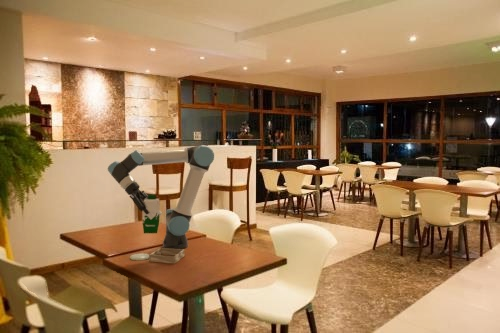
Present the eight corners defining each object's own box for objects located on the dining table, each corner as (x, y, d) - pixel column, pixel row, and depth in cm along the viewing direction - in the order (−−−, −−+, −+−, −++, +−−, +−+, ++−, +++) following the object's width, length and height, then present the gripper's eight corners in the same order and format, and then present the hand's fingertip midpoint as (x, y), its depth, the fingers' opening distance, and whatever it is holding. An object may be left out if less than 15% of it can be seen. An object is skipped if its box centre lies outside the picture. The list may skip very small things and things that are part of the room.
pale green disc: (135, 253, 219) (135, 252, 219) (153, 255, 217) (153, 254, 217) (126, 259, 208) (126, 258, 208) (145, 261, 206) (145, 260, 206)
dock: (160, 253, 220) (160, 247, 220) (184, 255, 218) (184, 249, 217) (149, 261, 206) (149, 254, 206) (174, 263, 203) (175, 256, 203)
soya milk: (159, 229, 216) (160, 194, 215) (158, 233, 207) (159, 197, 206) (142, 230, 214) (143, 194, 213) (141, 234, 205) (142, 196, 204)
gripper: (134, 188, 223) (159, 217, 221) (115, 192, 201) (143, 224, 200) (143, 179, 222) (168, 208, 220) (124, 183, 200) (152, 215, 198)
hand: (156, 216), depth 210 cm, fingers closed on soya milk, 9 cm apart
